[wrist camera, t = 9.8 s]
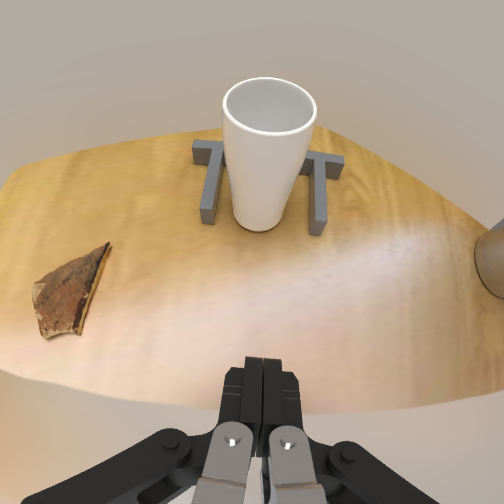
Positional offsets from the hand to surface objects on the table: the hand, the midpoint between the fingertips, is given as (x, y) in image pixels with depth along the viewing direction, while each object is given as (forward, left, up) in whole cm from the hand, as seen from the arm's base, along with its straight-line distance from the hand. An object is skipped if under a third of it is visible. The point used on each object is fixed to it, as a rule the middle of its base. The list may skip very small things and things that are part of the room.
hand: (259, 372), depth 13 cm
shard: (+20, -6, -16) cm, 27 cm away
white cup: (+1, -17, -16) cm, 23 cm away
